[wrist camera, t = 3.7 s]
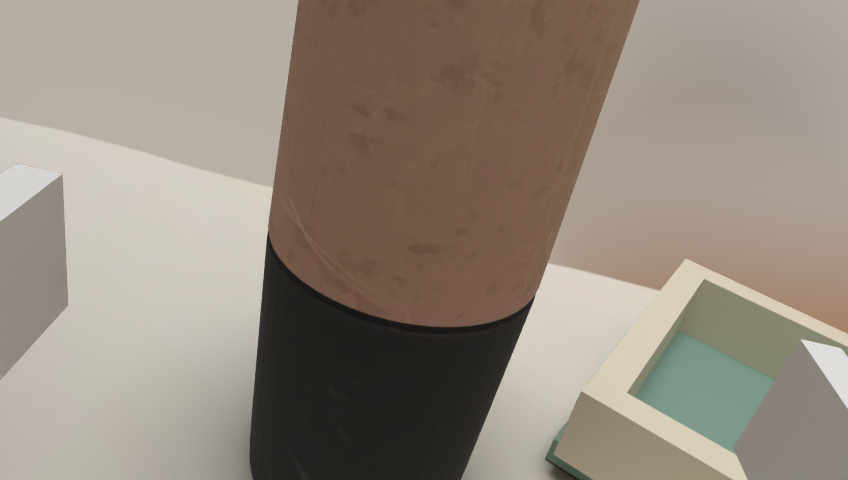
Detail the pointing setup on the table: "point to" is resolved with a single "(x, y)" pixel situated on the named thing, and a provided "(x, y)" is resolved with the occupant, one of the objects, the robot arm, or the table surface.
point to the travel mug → (415, 222)
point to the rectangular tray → (684, 383)
